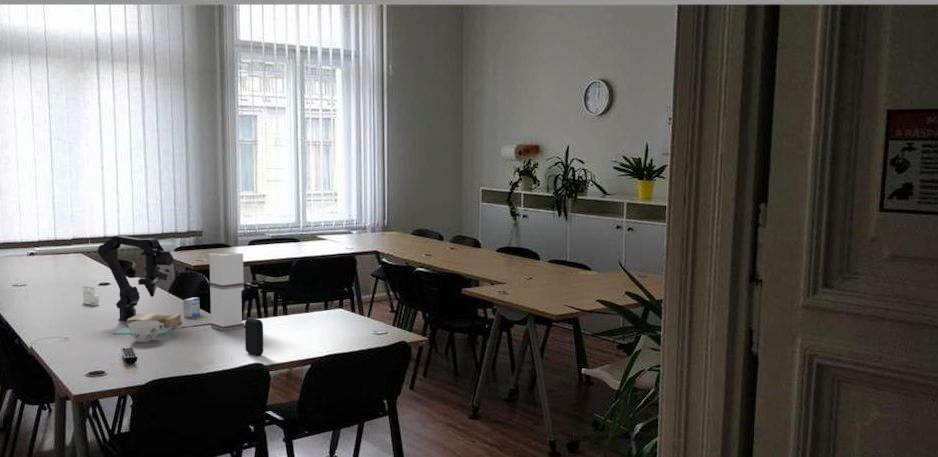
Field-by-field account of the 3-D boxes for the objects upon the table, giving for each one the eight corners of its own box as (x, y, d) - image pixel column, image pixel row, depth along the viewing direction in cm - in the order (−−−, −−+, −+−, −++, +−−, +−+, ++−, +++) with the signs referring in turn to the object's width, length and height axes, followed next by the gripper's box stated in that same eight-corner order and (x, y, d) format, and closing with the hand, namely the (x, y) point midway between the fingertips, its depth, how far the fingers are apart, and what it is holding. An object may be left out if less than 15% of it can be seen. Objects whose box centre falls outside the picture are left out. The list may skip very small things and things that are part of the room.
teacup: (135, 345, 333) (134, 327, 332) (124, 340, 342) (123, 322, 341) (170, 340, 343) (169, 322, 343) (158, 335, 352) (158, 317, 352)
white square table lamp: (244, 327, 370) (242, 253, 367) (223, 331, 362) (222, 255, 359) (231, 324, 378) (230, 251, 375) (211, 327, 370) (209, 253, 367)
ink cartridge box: (87, 303, 430) (86, 285, 429) (99, 305, 424) (98, 287, 424) (82, 303, 428) (82, 285, 427) (94, 305, 422) (94, 287, 421)
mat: (113, 333, 355) (113, 333, 355) (124, 328, 367) (124, 327, 367) (162, 333, 356) (162, 333, 356) (172, 328, 368) (172, 327, 368)
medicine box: (191, 317, 393) (191, 300, 393) (183, 316, 394) (182, 299, 393) (199, 314, 401) (199, 297, 400) (191, 313, 402) (191, 297, 401)
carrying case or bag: (242, 353, 322) (241, 317, 320) (248, 351, 324) (247, 316, 323) (259, 357, 315) (258, 320, 314) (265, 355, 318) (264, 319, 317)
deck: (127, 328, 367) (126, 319, 367) (139, 321, 381) (138, 313, 381) (170, 328, 368) (170, 319, 367) (180, 322, 382) (180, 313, 381)
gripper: (161, 267, 372) (162, 300, 373) (175, 262, 390) (176, 293, 392) (137, 267, 372) (138, 300, 373) (152, 262, 390) (153, 293, 392)
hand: (152, 296), depth 382 cm, fingers closed
